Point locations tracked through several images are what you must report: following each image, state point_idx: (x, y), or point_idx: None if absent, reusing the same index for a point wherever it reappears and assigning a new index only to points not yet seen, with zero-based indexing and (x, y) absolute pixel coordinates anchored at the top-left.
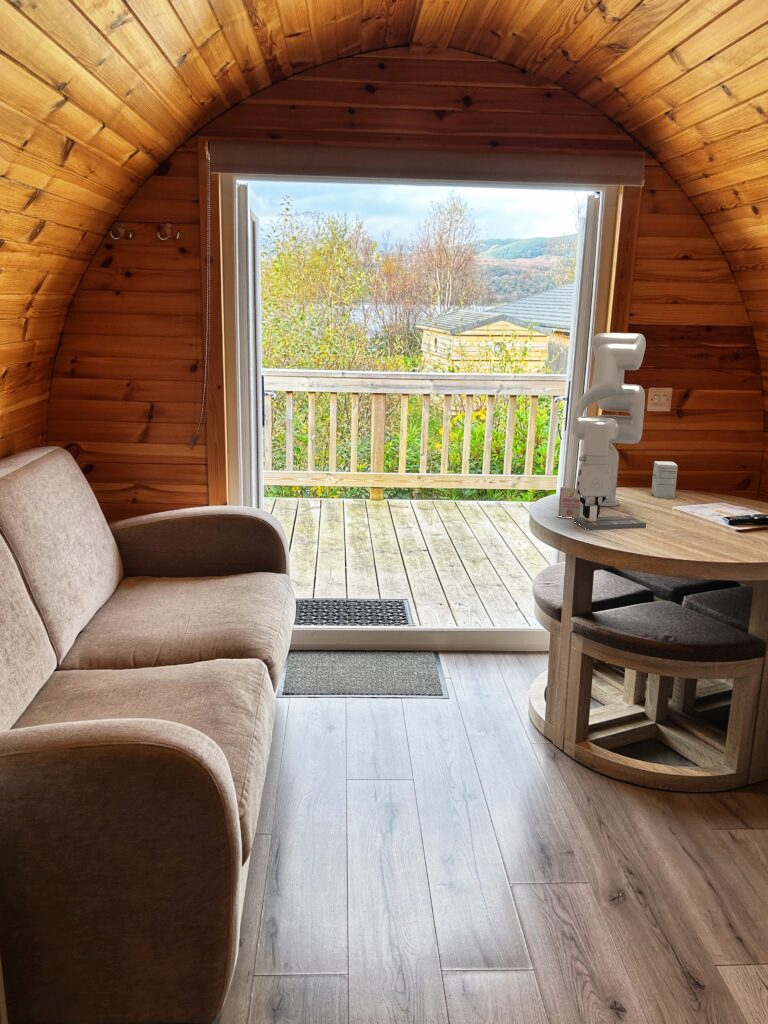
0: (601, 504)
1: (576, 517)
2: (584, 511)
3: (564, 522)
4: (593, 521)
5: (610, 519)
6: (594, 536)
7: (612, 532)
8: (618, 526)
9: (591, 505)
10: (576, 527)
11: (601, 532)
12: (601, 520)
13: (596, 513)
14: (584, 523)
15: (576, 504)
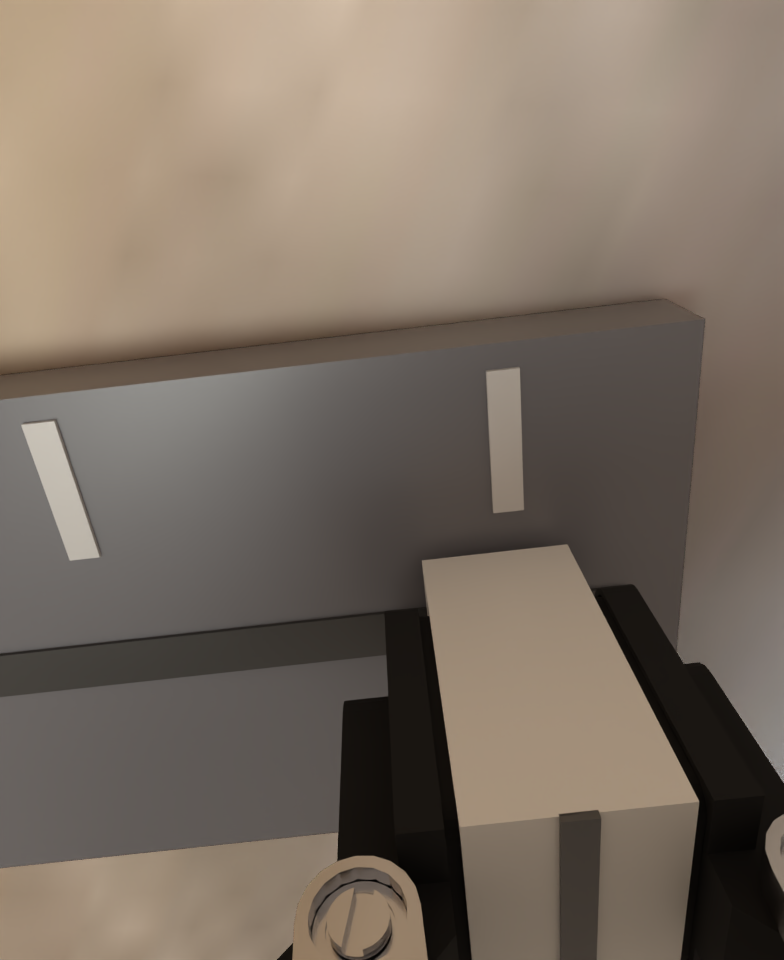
0: (315, 893)
1: None
2: (733, 723)
3: (770, 736)
4: None
5: (96, 709)
6: None
7: (224, 85)
8: (19, 385)
9: (612, 872)
10: (755, 483)
11: (463, 98)
12: (281, 646)
13: (443, 665)
14: (686, 471)
15: None
